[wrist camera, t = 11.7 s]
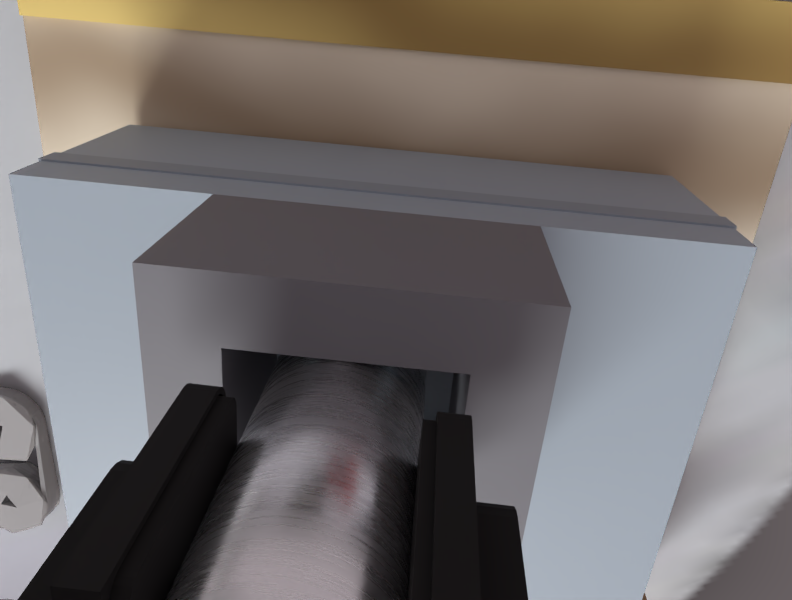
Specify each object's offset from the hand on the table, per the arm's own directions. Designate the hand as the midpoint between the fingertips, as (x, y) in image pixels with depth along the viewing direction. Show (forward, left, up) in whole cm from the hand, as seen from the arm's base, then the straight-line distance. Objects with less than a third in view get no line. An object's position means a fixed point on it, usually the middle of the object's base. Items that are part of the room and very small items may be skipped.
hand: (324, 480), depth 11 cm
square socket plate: (+3, 0, -11) cm, 12 cm away
